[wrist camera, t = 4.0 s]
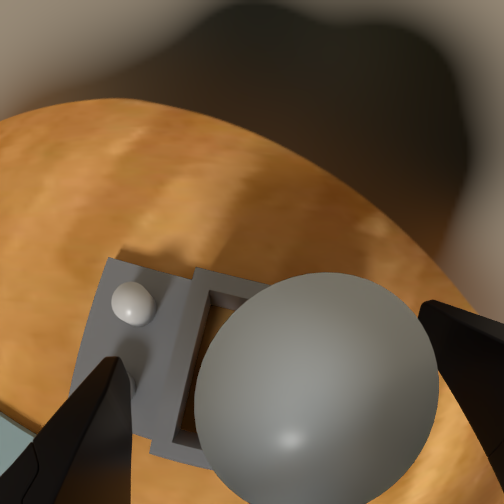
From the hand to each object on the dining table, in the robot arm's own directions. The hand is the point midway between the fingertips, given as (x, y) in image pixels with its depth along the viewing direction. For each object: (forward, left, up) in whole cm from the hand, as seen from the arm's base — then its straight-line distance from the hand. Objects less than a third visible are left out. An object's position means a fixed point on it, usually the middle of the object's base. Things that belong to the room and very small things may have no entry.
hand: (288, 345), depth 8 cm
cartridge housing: (+2, +1, -7) cm, 8 cm away
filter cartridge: (-1, +1, -7) cm, 7 cm away
